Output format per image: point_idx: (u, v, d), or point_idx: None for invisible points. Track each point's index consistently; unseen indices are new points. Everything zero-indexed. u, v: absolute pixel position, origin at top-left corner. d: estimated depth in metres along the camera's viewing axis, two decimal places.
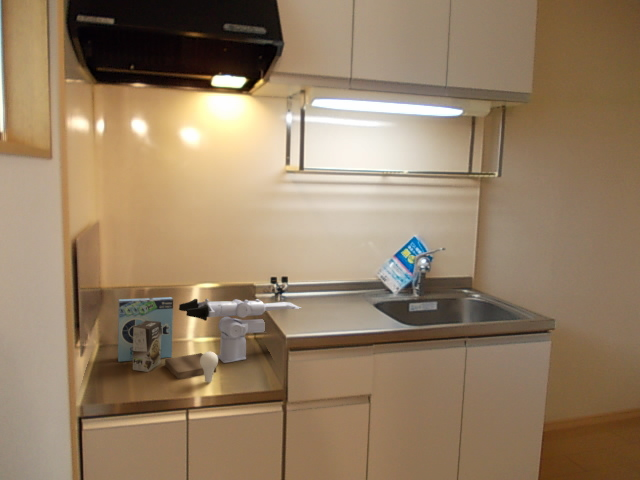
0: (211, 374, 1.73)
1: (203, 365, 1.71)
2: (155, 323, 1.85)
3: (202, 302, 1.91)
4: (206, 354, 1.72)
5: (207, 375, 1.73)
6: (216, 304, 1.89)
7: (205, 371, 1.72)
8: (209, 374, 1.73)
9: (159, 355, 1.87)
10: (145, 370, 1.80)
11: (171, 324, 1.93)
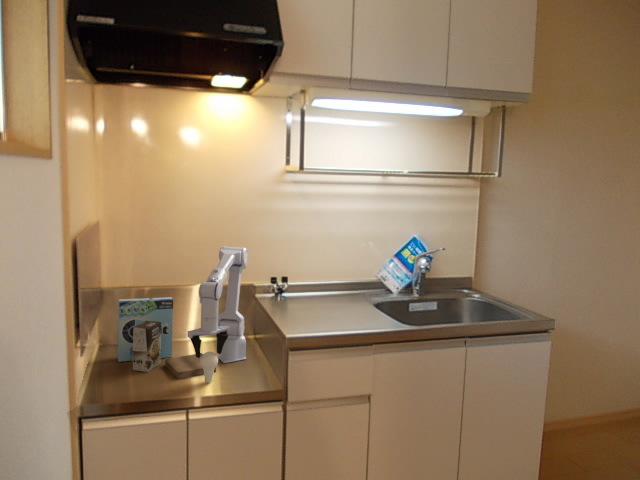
0: (211, 374, 1.73)
1: (203, 365, 1.71)
2: (155, 323, 1.84)
3: (203, 334, 1.69)
4: (206, 354, 1.72)
5: (207, 375, 1.73)
6: (216, 322, 1.71)
7: (205, 371, 1.72)
8: (209, 374, 1.73)
9: (159, 355, 1.87)
10: (145, 370, 1.80)
11: (171, 324, 1.93)
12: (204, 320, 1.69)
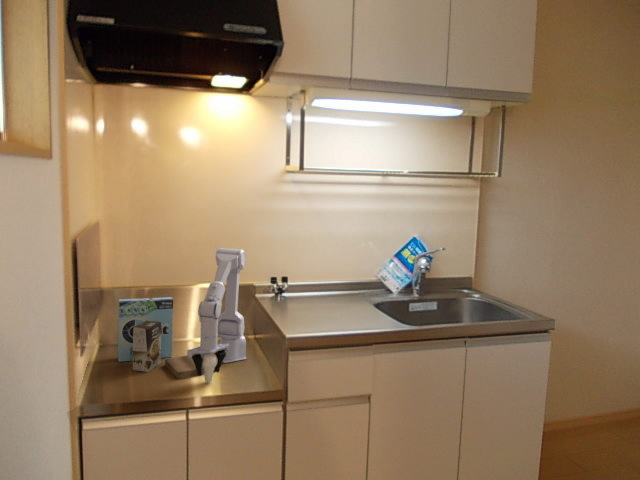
0: (211, 374, 1.73)
1: (202, 365, 1.71)
2: (155, 323, 1.85)
3: (202, 353, 1.70)
4: (205, 354, 1.72)
5: (207, 375, 1.73)
6: (216, 340, 1.72)
7: (205, 371, 1.72)
8: (209, 374, 1.73)
9: (159, 355, 1.87)
10: (145, 370, 1.80)
11: (171, 324, 1.93)
12: (203, 339, 1.70)
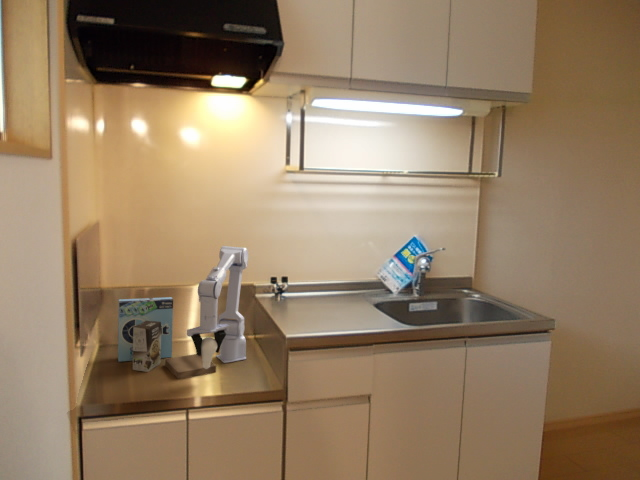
0: (209, 360, 1.72)
1: (202, 350, 1.71)
2: (155, 323, 1.85)
3: (202, 332, 1.69)
4: (206, 339, 1.72)
5: (205, 360, 1.72)
6: (216, 320, 1.71)
7: (204, 356, 1.72)
8: (207, 360, 1.72)
9: (159, 355, 1.87)
10: (145, 370, 1.80)
11: (171, 324, 1.93)
12: (203, 318, 1.69)
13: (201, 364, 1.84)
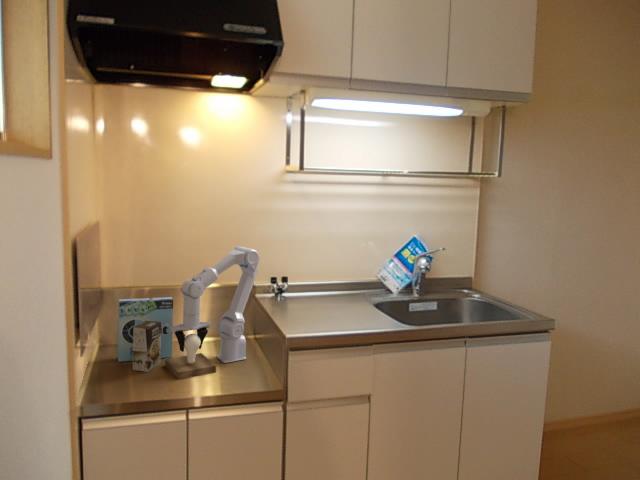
0: (193, 355, 1.82)
1: (186, 346, 1.80)
2: (155, 323, 1.85)
3: (185, 329, 1.80)
4: (189, 335, 1.82)
5: (190, 356, 1.82)
6: (198, 318, 1.82)
7: (188, 352, 1.81)
8: (192, 355, 1.82)
9: (159, 355, 1.87)
10: (145, 370, 1.80)
11: (171, 324, 1.93)
12: (186, 316, 1.80)
13: (201, 364, 1.84)
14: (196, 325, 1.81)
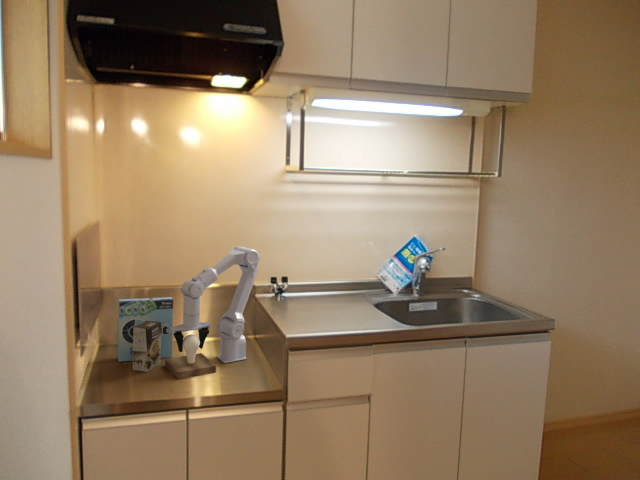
0: (193, 356, 1.82)
1: (185, 347, 1.80)
2: (155, 323, 1.85)
3: (185, 329, 1.80)
4: (188, 336, 1.81)
5: (189, 357, 1.81)
6: (198, 318, 1.82)
7: (187, 353, 1.81)
8: (191, 356, 1.81)
9: (159, 355, 1.87)
10: (145, 370, 1.80)
11: (171, 324, 1.93)
12: (186, 317, 1.80)
13: (201, 364, 1.84)
14: (196, 325, 1.81)
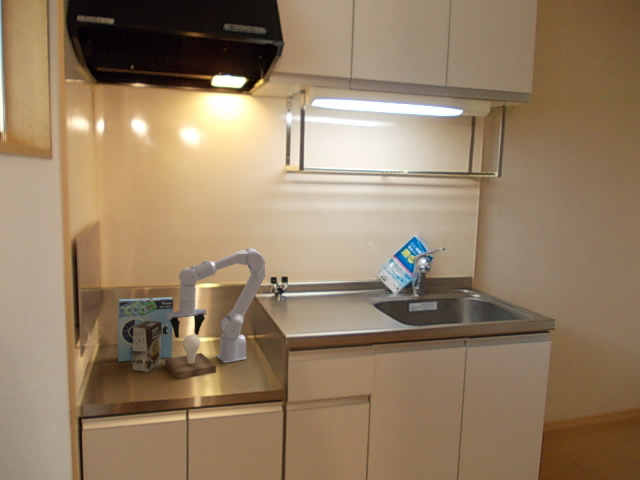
0: (193, 356, 1.82)
1: (185, 347, 1.80)
2: (155, 323, 1.85)
3: (181, 316, 1.86)
4: (188, 337, 1.81)
5: (189, 357, 1.81)
6: (194, 305, 1.88)
7: (187, 353, 1.81)
8: (191, 356, 1.81)
9: (159, 355, 1.87)
10: (145, 370, 1.80)
11: (171, 324, 1.93)
12: (182, 303, 1.86)
13: (201, 364, 1.84)
14: (192, 312, 1.87)
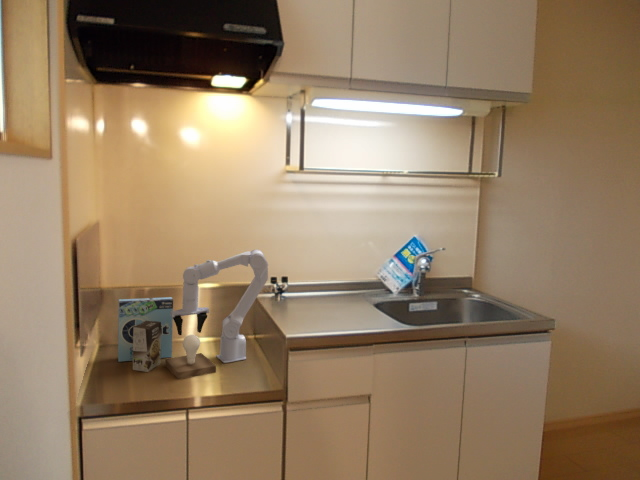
0: (193, 356, 1.82)
1: (185, 347, 1.80)
2: (155, 323, 1.84)
3: (184, 314, 1.89)
4: (188, 337, 1.81)
5: (189, 357, 1.81)
6: (196, 303, 1.90)
7: (187, 353, 1.81)
8: (191, 356, 1.81)
9: (159, 355, 1.87)
10: (145, 370, 1.80)
11: (171, 324, 1.93)
12: (185, 301, 1.89)
13: (201, 364, 1.84)
14: (195, 310, 1.90)
